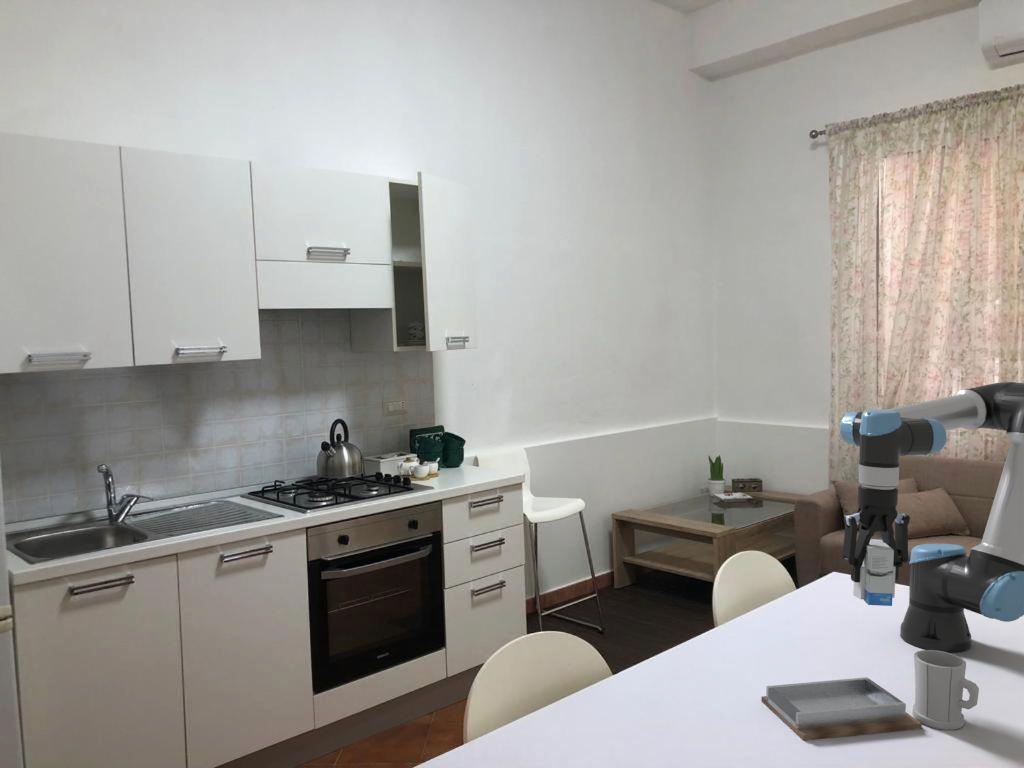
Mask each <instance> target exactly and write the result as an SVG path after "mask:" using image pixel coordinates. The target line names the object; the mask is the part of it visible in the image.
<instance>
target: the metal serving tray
mask: <svg viewBox="0 0 1024 768" xmlns="http://www.w3.org/2000/svg"><path fill="white" fill-rule="evenodd" d="M765 696H766V701H767V702H768V703H769V704H770V705H771V706H772V707H773V708H775V709H776V710H777V711H778V712H779V713H780V714H781V715H782V716H783V717H784V718H785V719H786V720H788V721H789V722H790V723H791V724H792V725H793V726H794V727H795V728H796V729H797V730H804V729H814V728H824V727H834V726H844V725H854V724H864V723H874V722H884V721H895V720H905V715H906V713H907V708H906V707H907V705H906V704H907V703H905V702H904V701H902V700H901V699H899V698H898V697H897V696H895V695H893V694H892V693H891V692H889V691H888V690H886V689H885V688H884V687H882V686H880V685H879V684H877V683H876V682H875V681H873V680H872V679H870V678H869V677H867V676H866V677H856V678H844V679H833V680H822V681H821V680H820V681H810V682H798V683H787V684H776V685H767V686H766V695H765Z"/></svg>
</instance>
